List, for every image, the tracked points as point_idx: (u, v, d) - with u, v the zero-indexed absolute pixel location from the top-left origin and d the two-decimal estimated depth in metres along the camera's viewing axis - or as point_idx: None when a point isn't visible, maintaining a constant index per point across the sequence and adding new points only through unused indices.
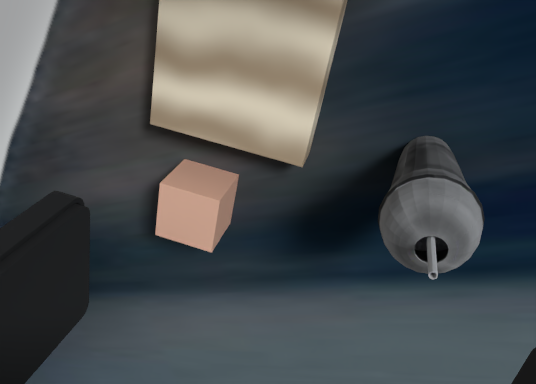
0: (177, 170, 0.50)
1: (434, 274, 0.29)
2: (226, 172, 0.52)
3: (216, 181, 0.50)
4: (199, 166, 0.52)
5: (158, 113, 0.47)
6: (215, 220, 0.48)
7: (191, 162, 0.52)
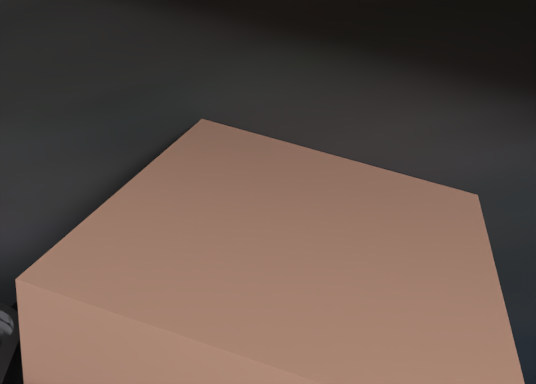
0: (163, 176, 0.09)
1: None
2: (416, 185, 0.10)
3: (400, 240, 0.08)
4: (276, 153, 0.10)
5: None
6: None
7: (235, 135, 0.11)
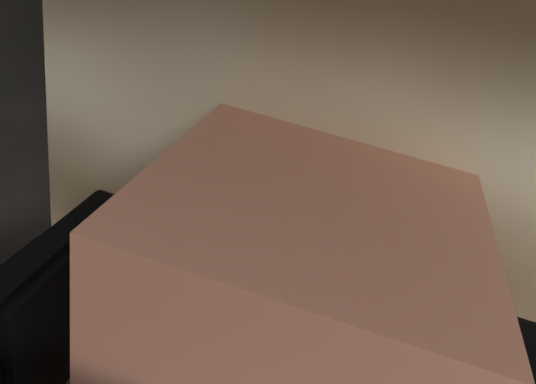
0: (190, 151, 0.09)
1: None
2: (421, 165, 0.11)
3: (406, 211, 0.09)
4: (291, 134, 0.11)
5: None
6: None
7: (252, 118, 0.11)
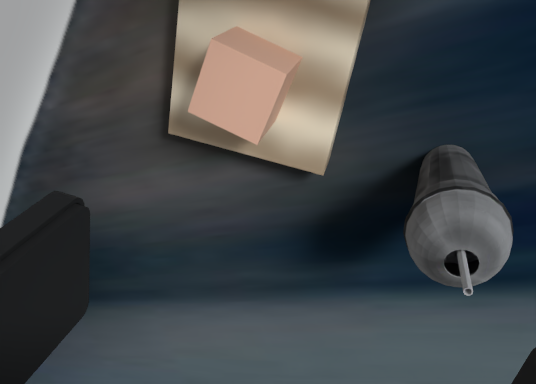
0: (230, 33, 0.39)
1: (469, 290, 0.28)
2: (287, 51, 0.41)
3: (278, 55, 0.39)
4: (254, 37, 0.41)
5: (176, 122, 0.46)
6: (273, 101, 0.37)
7: (245, 31, 0.41)
